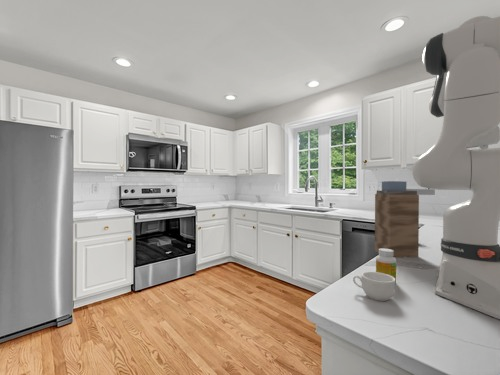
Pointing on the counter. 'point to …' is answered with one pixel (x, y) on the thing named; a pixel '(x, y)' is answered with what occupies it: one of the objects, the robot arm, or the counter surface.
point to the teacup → (377, 285)
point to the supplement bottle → (386, 262)
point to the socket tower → (397, 222)
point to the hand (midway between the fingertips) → (468, 158)
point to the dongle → (404, 188)
